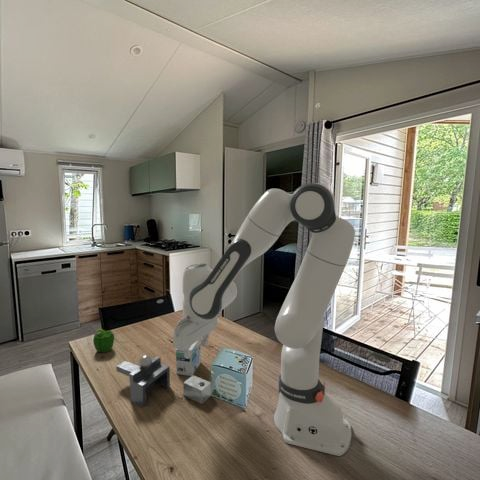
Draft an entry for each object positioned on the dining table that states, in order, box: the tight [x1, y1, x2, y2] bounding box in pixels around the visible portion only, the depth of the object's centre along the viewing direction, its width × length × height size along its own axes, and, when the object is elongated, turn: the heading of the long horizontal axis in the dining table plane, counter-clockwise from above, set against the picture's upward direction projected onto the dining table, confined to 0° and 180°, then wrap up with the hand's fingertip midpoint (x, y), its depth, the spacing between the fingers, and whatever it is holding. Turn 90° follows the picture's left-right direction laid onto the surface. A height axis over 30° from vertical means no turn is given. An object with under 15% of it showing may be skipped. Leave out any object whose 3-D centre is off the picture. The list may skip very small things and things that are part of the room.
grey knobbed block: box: [183, 374, 212, 405], centre depth 100 cm, size 8×5×5 cm, turn 59°
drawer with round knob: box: [115, 354, 171, 408], centre depth 103 cm, size 18×13×13 cm
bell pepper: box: [92, 328, 115, 353], centre depth 130 cm, size 8×8×10 cm
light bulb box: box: [175, 338, 202, 377], centre depth 116 cm, size 11×7×11 cm, turn 168°
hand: (196, 350), depth 98 cm, fingers open, 8 cm apart
